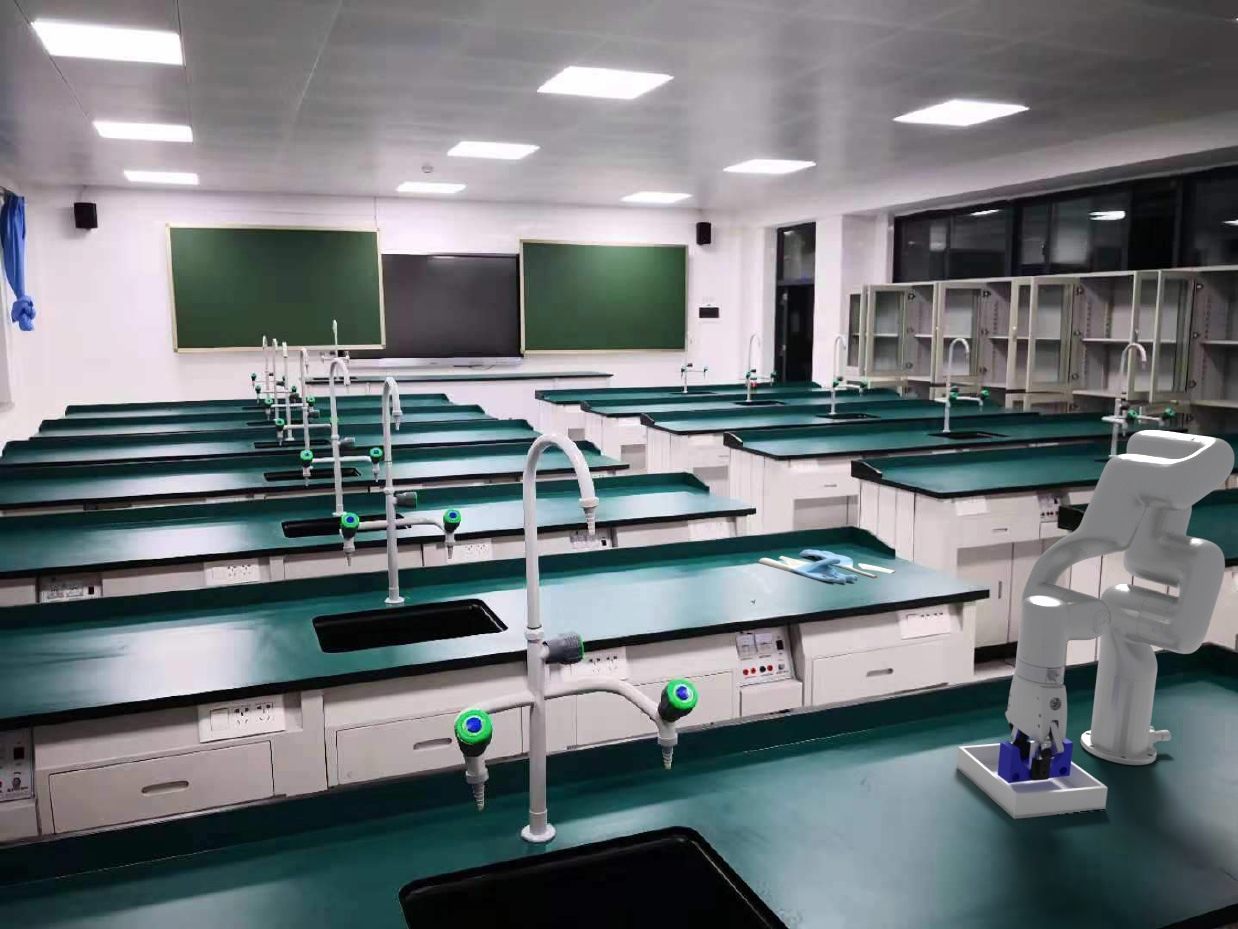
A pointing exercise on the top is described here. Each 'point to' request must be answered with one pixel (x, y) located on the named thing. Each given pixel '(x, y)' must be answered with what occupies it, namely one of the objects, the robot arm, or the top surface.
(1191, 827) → the top surface
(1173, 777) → the top surface
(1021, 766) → the cable clip
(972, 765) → the tray
